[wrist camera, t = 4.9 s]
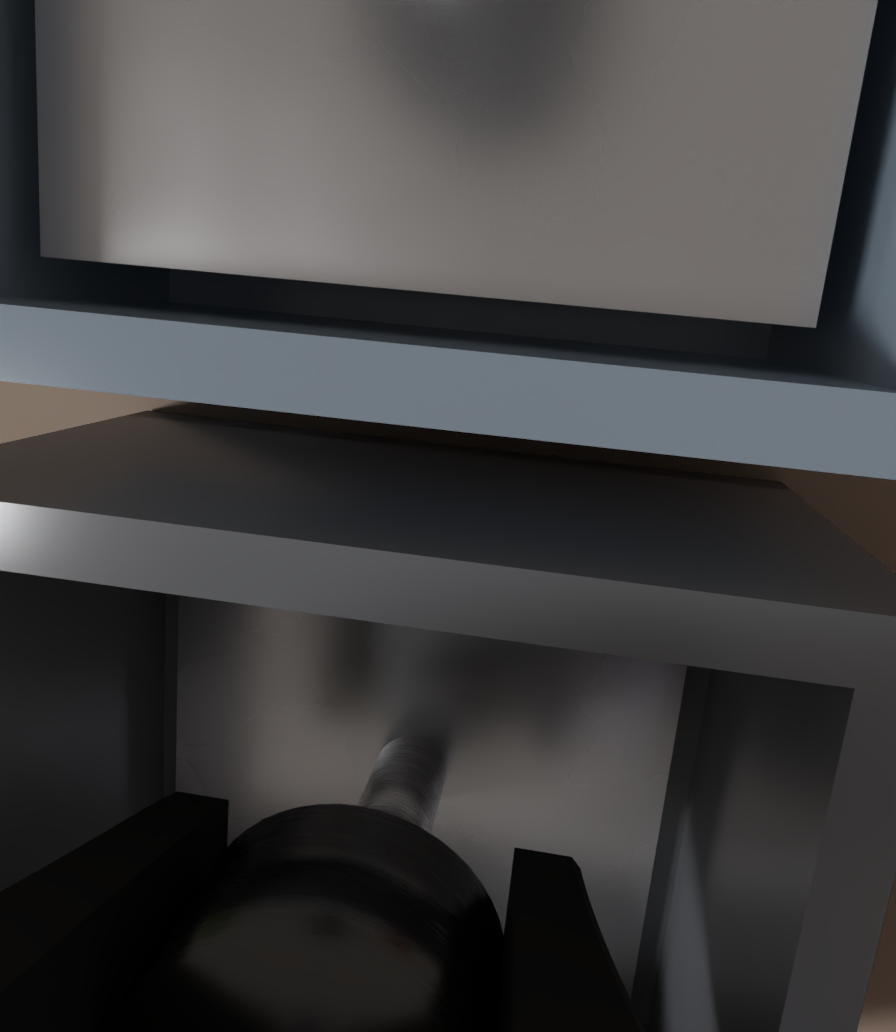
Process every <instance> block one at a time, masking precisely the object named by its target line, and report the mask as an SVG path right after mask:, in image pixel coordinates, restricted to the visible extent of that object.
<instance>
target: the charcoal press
mask: <svg viewBox="0 0 896 1032" xmlns="http://www.w3.org/2000/svg"><path fill="white" fill-rule="evenodd" d="M179 595H182V596H189V597H196V598H204V599H211V600H218V601H225V602H233V603H240V604H247V605H254V606H261V607H269V608H276V609H283V610H290V611H298V612H305V613H312V614H319V615H326V616H334V617H341V618H348V619H355V620H363V621H370V622H377V623H384V624H392V625H399V626H406V627H413V628H420V629H428V630H435V631H442V632H449V633H457V634H464V635H471V636H478V637H485V638H493V639H500V640H507V641H514V642H522V643H529V644H536V645H543V646H551V647H558V648H565V649H572V650H579V651H587V652H594V653H601V654H608V655H616V656H623V657H630V658H637V659H644V660H652V661H659V662H666V663H673V664H681V665H687V670H686V676H685V682H684V688H683V694H682V700H681V706H680V712H679V717H678V723H677V729H676V735H675V741H674V747H673V753H672V759H671V764H670V770H669V776H668V782H667V788H666V794H665V800H664V806H663V812H662V817H661V823H660V829H659V835H658V841H657V847H656V853H655V859H654V864H653V870H652V876H651V882H650V888H649V894H648V900H647V906H646V912H645V917H644V923H643V929H642V935H641V941H640V947H639V953H638V959H637V964H636V970H635V976H634V982H633V988H632V994H631V1001H632V1004H633V1006H634V1008H635V1010H636V1012H637V1014H638V1016H639V1019H640V1021H641V1023H642V1025H643V1027H644V1029H645V1031H646V1032H857V1028H858V1024H859V1020H860V1016H861V1012H862V1008H863V1004H864V1000H865V996H866V992H867V988H868V983H869V979H870V975H871V971H872V967H873V963H874V959H875V955H876V951H877V947H878V943H879V939H880V935H881V931H882V927H883V923H884V919H885V915H886V911H887V907H888V903H889V899H890V895H891V891H892V887H893V883H894V879H895V875H896V574H894V573H893V572H892V571H891V570H889V569H888V568H887V567H886V566H884V565H883V564H882V563H881V562H880V561H878V560H877V559H876V558H875V557H873V556H872V555H871V554H870V553H868V552H867V551H866V550H865V549H863V548H862V547H861V546H860V545H858V544H857V543H856V542H855V541H853V540H852V539H851V538H850V537H849V536H847V535H846V534H845V533H844V532H842V531H841V530H840V529H839V528H837V527H836V526H835V525H834V524H832V523H831V522H830V521H829V520H827V519H826V518H825V517H824V516H822V515H821V514H820V513H819V512H818V511H816V510H815V509H814V508H813V507H811V506H810V505H809V504H808V503H806V502H805V501H804V500H803V499H801V498H800V497H799V496H798V495H796V494H795V493H794V492H793V491H792V490H790V489H789V488H788V487H787V486H785V485H784V484H783V483H782V482H776V481H767V480H758V479H749V478H741V477H732V476H723V475H714V474H705V473H696V472H687V471H679V470H670V469H661V468H652V467H643V466H634V465H625V464H616V463H608V462H599V461H590V460H581V459H572V458H563V457H554V456H545V455H537V454H528V453H519V452H510V451H501V450H492V449H483V448H475V447H466V446H457V445H448V444H439V443H430V442H421V441H412V440H404V439H395V438H386V437H377V436H368V435H359V434H350V433H342V432H333V431H324V430H315V429H306V428H297V427H288V426H279V425H271V424H262V423H253V422H244V421H235V420H226V419H217V418H209V417H200V416H191V415H182V414H173V413H164V412H155V411H144V412H139V413H135V414H130V415H126V416H122V417H117V418H113V419H108V420H104V421H100V422H95V423H91V424H86V425H82V426H77V427H73V428H69V429H64V430H60V431H55V432H51V433H46V434H42V435H38V436H33V437H29V438H24V439H20V440H16V441H11V442H7V443H2V444H0V891H2V890H4V889H6V888H8V887H10V886H11V885H13V884H15V883H17V882H19V881H20V880H22V879H24V878H26V877H27V876H29V875H31V874H33V873H34V872H36V871H38V870H40V869H41V868H43V867H45V866H47V865H48V864H50V863H52V862H54V861H55V860H57V859H59V858H60V857H62V856H64V855H66V854H67V853H69V852H71V851H73V850H74V849H76V848H78V847H80V846H81V845H83V844H85V843H87V842H88V841H90V840H92V839H93V838H95V837H97V836H99V835H100V834H102V833H104V832H105V831H107V830H109V829H110V828H112V827H114V826H116V825H117V824H119V823H121V822H122V821H124V820H126V819H127V818H129V817H131V816H133V815H134V814H136V813H138V812H140V811H141V810H143V809H145V808H147V807H148V806H150V805H152V804H154V803H155V802H157V801H159V800H161V799H163V798H165V797H167V796H169V795H171V794H173V793H175V792H176V736H177V673H178V610H179Z"/></svg>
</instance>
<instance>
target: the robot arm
mask: <svg viewBox="0 0 896 1032" xmlns="http://www.w3.org/2000/svg"><path fill="white" fill-rule="evenodd" d="M228 808H229V800H227V799H221V798H215V797H209V796H203V795H197V794H191V793H185V792H179V791H176V792H175V793H173V794H171V795H169V796H167V797H165V798H163V799H161V800H159V801H157V802H155V803H154V804H152V805H150V806H148V807H147V808H145V809H143V810H141V811H140V812H138V813H136V814H134V815H133V816H131V817H129V818H127V819H126V820H124V821H122V822H121V823H119V824H117V825H116V826H114V827H112V828H110V829H109V830H107V831H105V832H104V833H102V834H100V835H99V836H97V837H95V838H93V839H92V840H90V841H88V842H87V843H85V844H83V845H81V846H80V847H78V848H76V849H74V850H73V851H71V852H69V853H67V854H66V855H64V856H62V857H60V858H59V859H57V860H55V861H54V862H52V863H50V864H48V865H47V866H45V867H43V868H41V869H40V870H38V871H36V872H34V873H33V874H31V875H29V876H27V877H26V878H24V879H22V880H20V881H19V882H17V883H15V884H13V885H11V886H10V887H8V888H6V889H4V890H2V891H0V1032H108V1031H109V1029H110V1026H111V1024H112V1022H113V1021H114V1019H115V1017H116V1016H117V1014H118V1013H119V1011H120V1010H121V1008H122V1006H123V1005H124V1003H125V1002H126V1000H127V999H128V997H129V996H130V994H131V993H132V991H133V989H134V988H135V986H136V985H137V983H138V982H139V980H140V979H141V977H142V976H143V974H144V973H145V971H146V969H147V968H148V966H149V965H150V963H151V962H152V960H153V959H154V957H155V956H156V954H157V953H158V951H159V950H160V948H161V946H162V945H163V943H164V942H165V940H166V939H167V937H168V936H169V934H170V933H171V931H172V930H173V928H174V927H175V925H176V923H177V922H178V920H179V919H180V917H181V916H182V914H183V913H184V911H185V910H186V908H187V907H188V905H189V903H190V902H191V900H192V899H193V897H194V896H195V894H196V893H197V891H198V890H199V888H200V887H201V885H202V884H203V882H204V880H205V879H206V877H207V876H208V874H209V873H210V871H211V870H212V868H213V867H214V865H215V864H216V862H217V860H218V859H219V857H220V856H221V854H222V853H223V852H224V851H225V850H226V848H227V839H228ZM498 1032H646V1031H645V1029H644V1027H643V1025H642V1023H641V1021H640V1019H639V1016H638V1014H637V1012H636V1010H635V1008H634V1006H633V1004H632V1001H631V999H630V997H629V995H628V993H627V991H626V989H625V986H624V984H623V982H622V980H621V978H620V976H619V973H618V971H617V969H616V966H615V964H614V962H613V960H612V957H611V955H610V952H609V950H608V948H607V945H606V942H605V940H604V937H603V935H602V932H601V930H600V927H599V925H598V922H597V919H596V917H595V914H594V911H593V908H592V906H591V903H590V900H589V897H588V894H587V890H586V887H585V884H584V880H583V876H582V872H581V868H580V867H579V866H578V864H577V863H576V862H575V860H574V859H573V858H572V857H570V856H564V855H558V854H552V853H546V852H540V851H534V850H528V849H522V848H516V847H515V848H514V856H513V864H512V872H511V880H510V888H509V896H508V904H507V912H506V920H505V928H504V940H503V949H502V958H501V971H500V999H499V1027H498Z"/></svg>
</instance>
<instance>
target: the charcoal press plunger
mask: <svg viewBox="0 0 896 1032" xmlns="http://www.w3.org/2000/svg"><path fill="white" fill-rule="evenodd" d="M686 670H687V665H681V664H673V663H666V662H659V661H652V660H644V659H637V658H630V657H623V656H616V655H608V654H601V653H594V652H587V651H579V650H572V649H565V648H558V647H551V646H543V645H536V644H529V643H522V642H514V641H507V640H500V639H493V638H485V637H478V636H471V635H464V634H457V633H449V632H442V631H435V630H428V629H420V628H413V627H406V626H399V625H392V624H384V623H377V622H370V621H363V620H355V619H348V618H341V617H334V616H326V615H319V614H312V613H305V612H298V611H290V610H283V609H276V608H269V607H261V606H254V605H247V604H240V603H233V602H225V601H218V600H211V599H204V598H196V597H189V596H182V595H179V610H178V673H177V736H176V791H179V792H185V793H191V794H197V795H203V796H209V797H215V798H221V799H227V800H229V808H228V839H227V848H226V850H225V851H224V852H223V853H222V854H221V856H220V857H219V859H218V860H217V862H216V864H215V865H214V867H213V868H212V870H211V871H210V873H209V874H208V876H207V877H206V879H205V880H204V882H203V884H202V885H201V887H200V888H199V890H198V891H197V893H196V894H195V896H194V897H193V899H192V900H191V902H190V903H189V905H188V907H187V908H186V910H185V911H184V913H183V914H182V916H181V917H180V919H179V920H178V922H177V923H176V925H175V927H174V928H173V930H172V931H171V933H170V934H169V936H168V937H167V939H166V940H165V942H164V943H163V945H162V946H161V948H160V950H159V951H158V953H157V954H156V956H155V957H154V959H153V960H152V962H151V963H150V965H149V966H148V968H147V969H146V971H145V973H144V974H143V976H142V977H141V979H140V980H139V982H138V983H137V985H136V986H135V988H134V989H133V991H132V993H131V994H130V996H129V997H128V999H127V1000H126V1002H125V1003H124V1005H123V1006H122V1008H121V1010H120V1011H119V1013H118V1014H117V1016H116V1017H115V1019H114V1021H113V1022H112V1024H111V1026H110V1029H109V1031H108V1032H498V1027H499V999H500V971H501V958H502V949H503V940H504V928H505V920H506V912H507V904H508V896H509V888H510V880H511V872H512V864H513V856H514V848H515V847H516V848H522V849H528V850H534V851H540V852H546V853H552V854H558V855H564V856H570V857H572V858H573V859H574V860H575V862H576V863H577V864H578V866H579V867H580V868H581V872H582V876H583V880H584V884H585V887H586V890H587V894H588V897H589V900H590V903H591V906H592V908H593V911H594V914H595V917H596V919H597V922H598V925H599V927H600V930H601V932H602V935H603V937H604V940H605V942H606V945H607V948H608V950H609V952H610V955H611V957H612V960H613V962H614V964H615V966H616V969H617V971H618V973H619V976H620V978H621V980H622V982H623V984H624V986H625V989H626V991H627V993H628V995H629V997H630V999H631V994H632V988H633V982H634V976H635V970H636V964H637V959H638V953H639V947H640V941H641V935H642V929H643V923H644V917H645V912H646V906H647V900H648V894H649V888H650V882H651V876H652V870H653V864H654V859H655V853H656V847H657V841H658V835H659V829H660V823H661V817H662V812H663V806H664V800H665V794H666V788H667V782H668V776H669V770H670V764H671V759H672V753H673V747H674V741H675V735H676V729H677V723H678V717H679V712H680V706H681V700H682V694H683V688H684V682H685V676H686Z"/></svg>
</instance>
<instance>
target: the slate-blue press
mask: <svg viewBox="0 0 896 1032" xmlns="http://www.w3.org/2000/svg"><path fill="white" fill-rule="evenodd" d="M0 381H7V382H16V383H25V384H34V385H43V386H52V387H61V388H70V389H79V390H88V391H97V392H106V393H116V394H125V395H134V396H143V397H152V398H161V399H170V400H179V401H188V402H197V403H206V404H215V405H224V406H233V407H242V408H251V409H260V410H269V411H278V412H287V413H296V414H305V415H314V416H323V417H332V418H341V419H350V420H359V421H368V422H377V423H386V424H395V425H404V426H413V427H422V428H431V429H440V430H449V431H458V432H467V433H476V434H485V435H494V436H503V437H512V438H522V439H531V440H540V441H549V442H558V443H567V444H576V445H585V446H594V447H603V448H612V449H621V450H630V451H639V452H648V453H657V454H666V455H675V456H684V457H693V458H702V459H711V460H720V461H729V462H738V463H747V464H756V465H765V466H774V467H783V468H792V469H801V470H810V471H819V472H828V473H837V474H846V475H855V476H864V477H873V478H882V479H891V480H896V0H878V3H877V8H876V13H875V18H874V24H873V29H872V34H871V40H870V45H869V50H868V55H867V61H866V66H865V71H864V76H863V82H862V87H861V92H860V98H859V103H858V108H857V113H856V119H855V124H854V129H853V135H852V140H851V145H850V150H849V156H848V161H847V166H846V171H845V177H844V182H843V187H842V193H841V198H840V203H839V208H838V214H837V219H836V224H835V229H834V235H833V240H832V245H831V251H830V256H829V261H828V266H827V272H826V277H825V282H824V288H823V293H822V298H821V303H820V309H819V314H818V319H817V324H816V328H809V327H796V326H785V325H775V324H764V323H753V322H742V321H731V320H720V319H710V318H699V317H688V316H677V315H666V314H655V313H645V312H634V311H623V310H612V309H601V308H590V307H580V306H569V305H558V304H547V303H536V302H525V301H515V300H504V299H493V298H482V297H471V296H460V295H450V294H439V293H428V292H417V291H406V290H395V289H385V288H374V287H363V286H352V285H341V284H330V283H320V282H309V281H298V280H287V279H276V278H265V277H255V276H244V275H233V274H222V273H211V272H200V271H190V270H179V269H168V268H157V267H146V266H135V265H125V264H114V263H103V262H92V261H81V260H70V259H60V258H51V257H42V256H41V253H40V209H39V165H38V121H37V77H36V33H35V0H0Z"/></svg>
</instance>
